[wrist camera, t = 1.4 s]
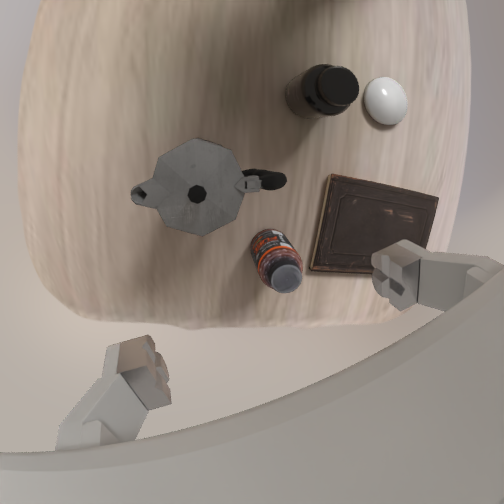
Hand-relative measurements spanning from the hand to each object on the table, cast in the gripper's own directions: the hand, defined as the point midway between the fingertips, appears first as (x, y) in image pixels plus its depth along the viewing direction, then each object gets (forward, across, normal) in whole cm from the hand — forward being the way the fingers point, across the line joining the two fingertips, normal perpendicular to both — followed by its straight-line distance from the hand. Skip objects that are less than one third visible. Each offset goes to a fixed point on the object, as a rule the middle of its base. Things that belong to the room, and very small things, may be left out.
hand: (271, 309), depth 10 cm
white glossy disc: (+31, -32, -6) cm, 45 cm away
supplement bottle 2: (+33, -19, -8) cm, 39 cm away
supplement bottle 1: (+34, -9, +13) cm, 38 cm away
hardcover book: (+32, -28, +16) cm, 46 cm away
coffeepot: (+35, -3, 0) cm, 35 cm away
